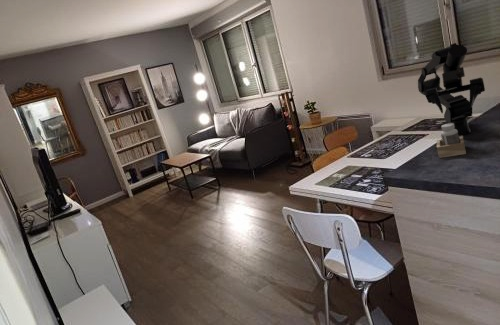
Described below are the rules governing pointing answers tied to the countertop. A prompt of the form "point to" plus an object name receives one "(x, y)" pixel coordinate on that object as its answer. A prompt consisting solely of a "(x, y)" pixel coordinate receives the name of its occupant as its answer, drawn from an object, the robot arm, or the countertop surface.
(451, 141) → the pill bottle
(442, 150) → the birch socket stand
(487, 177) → the countertop surface
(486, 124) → the countertop surface
